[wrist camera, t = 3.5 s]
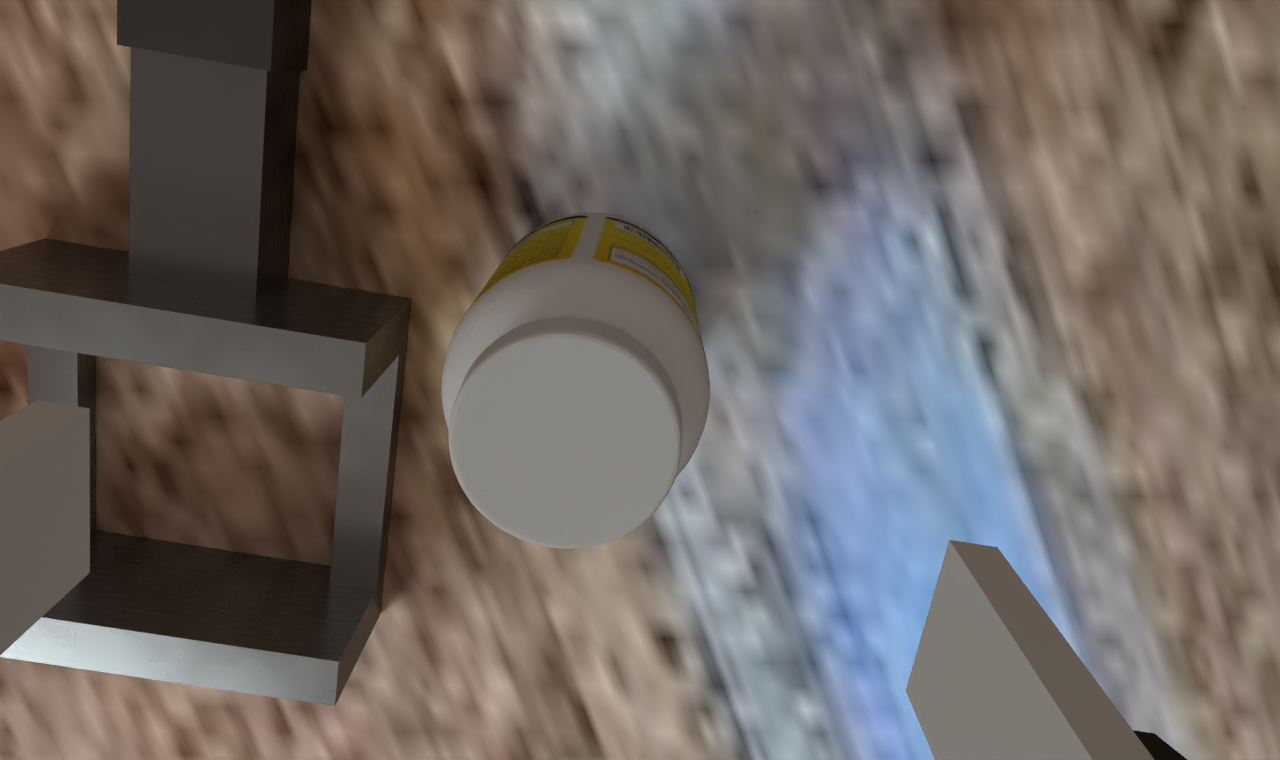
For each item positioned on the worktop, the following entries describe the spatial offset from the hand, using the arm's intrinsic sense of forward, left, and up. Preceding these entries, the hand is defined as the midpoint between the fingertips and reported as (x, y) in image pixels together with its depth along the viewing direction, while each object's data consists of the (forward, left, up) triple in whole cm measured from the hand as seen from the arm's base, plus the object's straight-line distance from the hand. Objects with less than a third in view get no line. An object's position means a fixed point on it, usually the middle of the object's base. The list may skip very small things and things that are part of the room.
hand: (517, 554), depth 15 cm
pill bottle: (0, 0, -16) cm, 16 cm away
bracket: (+1, -11, -16) cm, 19 cm away
